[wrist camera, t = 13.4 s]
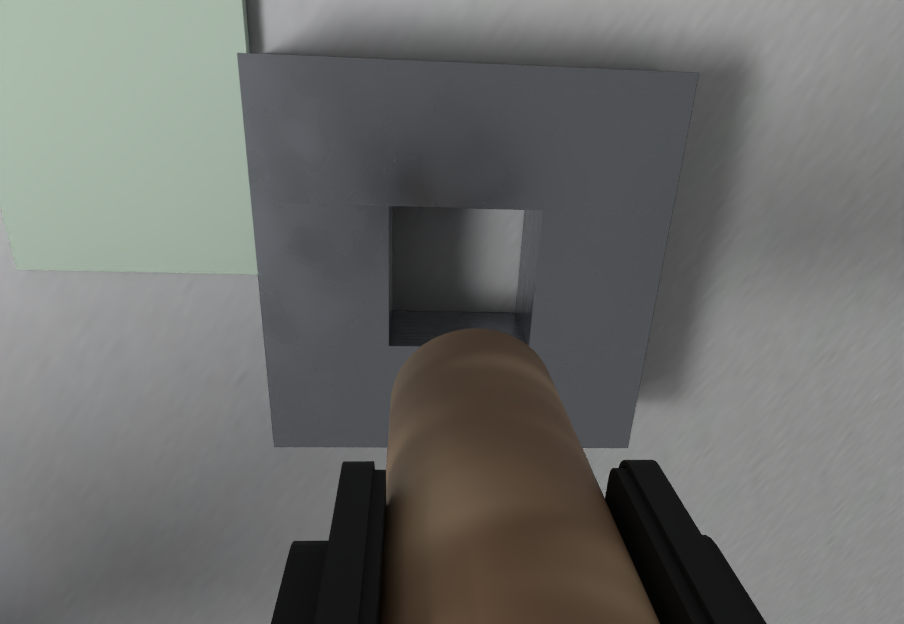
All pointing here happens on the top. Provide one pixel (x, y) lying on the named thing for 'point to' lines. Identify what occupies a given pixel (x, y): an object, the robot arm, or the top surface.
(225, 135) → the set down mat
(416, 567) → the tan rounded cylinder
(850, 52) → the top surface
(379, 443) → the dark grey socket block
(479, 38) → the top surface
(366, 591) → the robot arm
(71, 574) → the top surface
